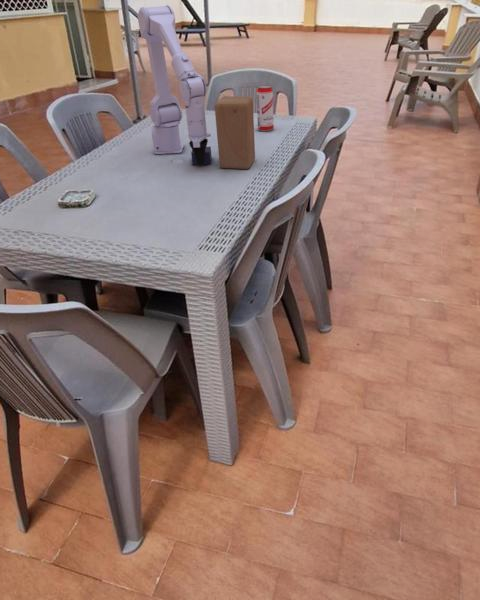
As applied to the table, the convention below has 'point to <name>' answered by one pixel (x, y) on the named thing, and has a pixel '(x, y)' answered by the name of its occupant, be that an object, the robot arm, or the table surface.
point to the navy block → (207, 157)
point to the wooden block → (235, 132)
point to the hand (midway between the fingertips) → (201, 163)
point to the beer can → (265, 108)
